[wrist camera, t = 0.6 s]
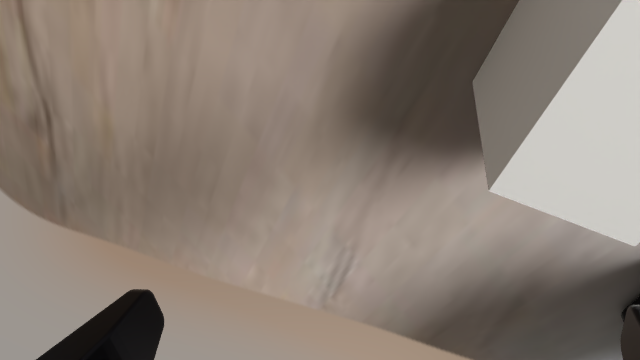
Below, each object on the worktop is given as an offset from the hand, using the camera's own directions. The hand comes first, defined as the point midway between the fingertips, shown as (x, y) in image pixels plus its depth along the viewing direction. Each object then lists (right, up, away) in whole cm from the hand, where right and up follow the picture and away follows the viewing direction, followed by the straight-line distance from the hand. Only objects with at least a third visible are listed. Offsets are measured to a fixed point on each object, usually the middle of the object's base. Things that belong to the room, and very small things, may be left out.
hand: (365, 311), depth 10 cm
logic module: (+8, +8, +8) cm, 14 cm away
